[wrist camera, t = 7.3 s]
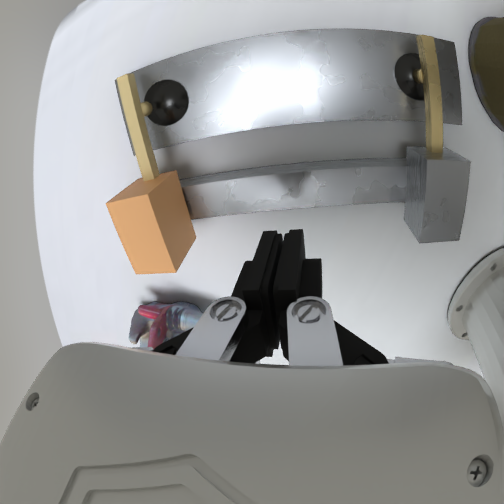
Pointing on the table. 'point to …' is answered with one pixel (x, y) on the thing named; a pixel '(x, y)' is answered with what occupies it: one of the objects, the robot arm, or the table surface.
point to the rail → (296, 186)
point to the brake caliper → (162, 322)
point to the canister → (489, 65)
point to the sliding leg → (149, 200)
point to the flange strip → (291, 83)
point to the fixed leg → (434, 165)
